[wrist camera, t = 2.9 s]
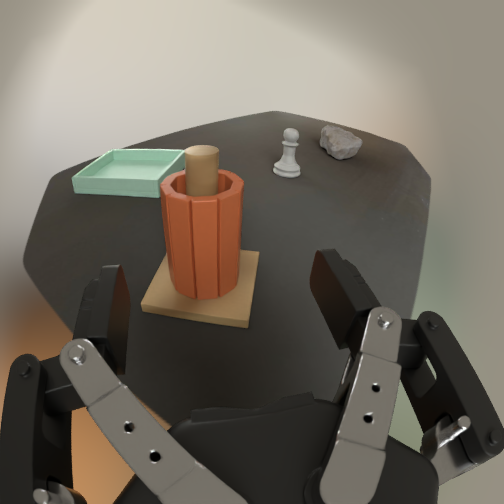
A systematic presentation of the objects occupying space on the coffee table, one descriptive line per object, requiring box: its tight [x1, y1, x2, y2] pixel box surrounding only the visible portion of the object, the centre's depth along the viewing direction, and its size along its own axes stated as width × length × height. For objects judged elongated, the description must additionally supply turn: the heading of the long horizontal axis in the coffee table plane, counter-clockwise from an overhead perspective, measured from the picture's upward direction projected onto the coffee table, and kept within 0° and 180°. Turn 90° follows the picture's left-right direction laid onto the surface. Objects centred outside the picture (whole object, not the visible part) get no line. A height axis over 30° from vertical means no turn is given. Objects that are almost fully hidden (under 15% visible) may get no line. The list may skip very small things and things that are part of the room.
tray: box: [72, 149, 185, 198], centre depth 45 cm, size 15×13×3 cm
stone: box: [320, 125, 362, 160], centre depth 61 cm, size 10×8×6 cm
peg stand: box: [141, 145, 259, 328], centre depth 24 cm, size 9×9×12 cm
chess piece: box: [273, 128, 300, 178], centre depth 48 cm, size 5×5×8 cm
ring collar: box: [160, 169, 244, 300], centre depth 24 cm, size 6×6×9 cm
